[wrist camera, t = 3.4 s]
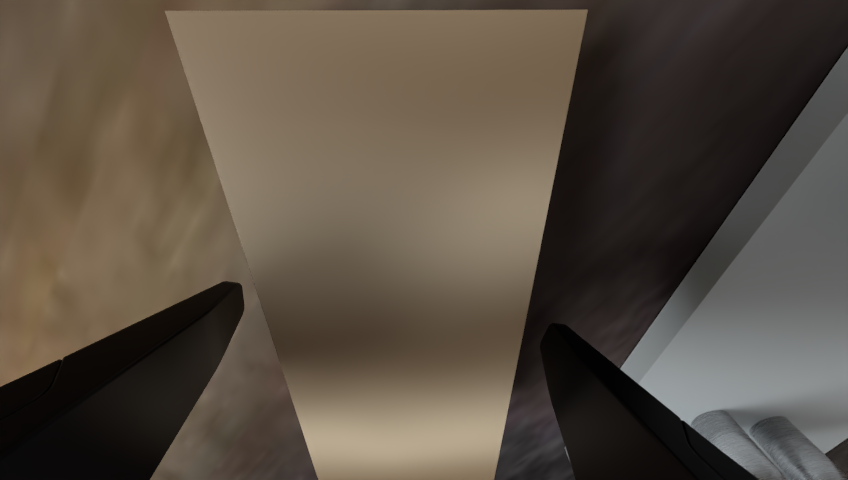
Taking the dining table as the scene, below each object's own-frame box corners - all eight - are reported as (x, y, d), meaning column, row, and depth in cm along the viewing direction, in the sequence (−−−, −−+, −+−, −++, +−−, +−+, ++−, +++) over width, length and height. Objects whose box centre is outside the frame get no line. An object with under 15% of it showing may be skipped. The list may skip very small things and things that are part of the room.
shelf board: (474, 389, 15) (491, 490, 11) (345, 392, 15) (323, 494, 11) (513, 33, 8) (588, 9, 5) (275, 34, 8) (165, 11, 4)
